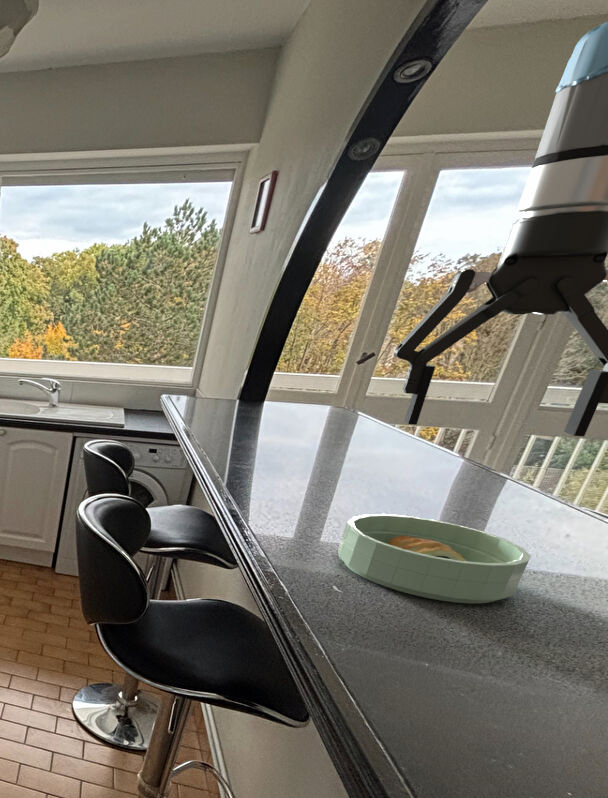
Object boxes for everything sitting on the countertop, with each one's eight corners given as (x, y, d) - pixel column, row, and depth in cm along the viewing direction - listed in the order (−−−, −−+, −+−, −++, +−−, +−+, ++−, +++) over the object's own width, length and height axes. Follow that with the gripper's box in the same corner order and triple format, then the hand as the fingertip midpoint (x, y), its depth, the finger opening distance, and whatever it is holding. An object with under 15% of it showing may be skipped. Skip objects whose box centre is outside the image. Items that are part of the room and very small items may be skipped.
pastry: (367, 548, 78) (377, 521, 76) (429, 555, 76) (440, 527, 74) (401, 577, 69) (412, 547, 68) (471, 586, 67) (484, 555, 66)
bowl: (488, 566, 75) (504, 529, 73) (533, 621, 62) (554, 578, 60) (331, 540, 82) (342, 506, 81) (342, 583, 70) (354, 545, 68)
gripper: (739, 207, 55) (634, 432, 63) (400, 226, 67) (347, 413, 75) (796, 196, 49) (672, 446, 57) (412, 219, 61) (354, 423, 69)
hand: (487, 428), depth 66 cm, fingers open, 13 cm apart
